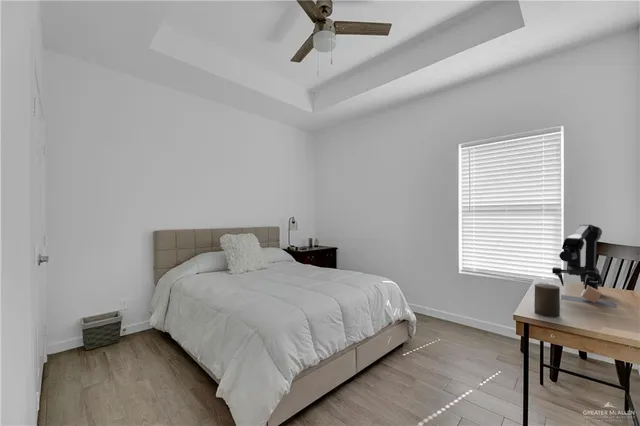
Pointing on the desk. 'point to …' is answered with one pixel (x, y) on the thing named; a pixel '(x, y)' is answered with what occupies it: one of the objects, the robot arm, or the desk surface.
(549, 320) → the desk surface
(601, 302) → the mat
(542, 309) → the pillar candle
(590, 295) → the cube
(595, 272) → the robot arm
